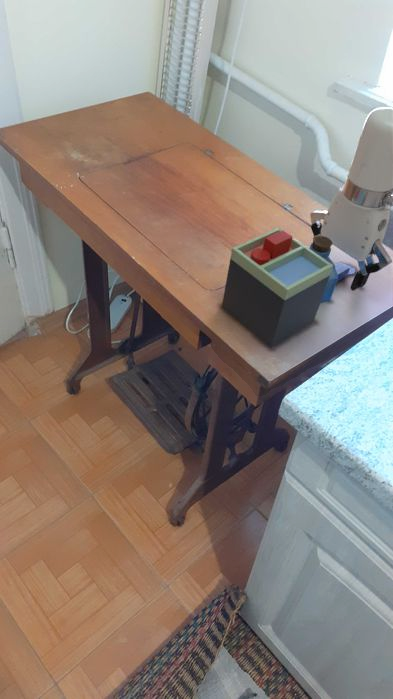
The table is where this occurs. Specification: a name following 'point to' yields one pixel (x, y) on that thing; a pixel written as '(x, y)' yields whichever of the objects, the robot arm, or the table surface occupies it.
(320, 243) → the perfume bottle
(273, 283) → the organiser
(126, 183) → the table surface
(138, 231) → the table surface
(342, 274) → the blue block
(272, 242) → the red block with cylinder
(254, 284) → the riser
